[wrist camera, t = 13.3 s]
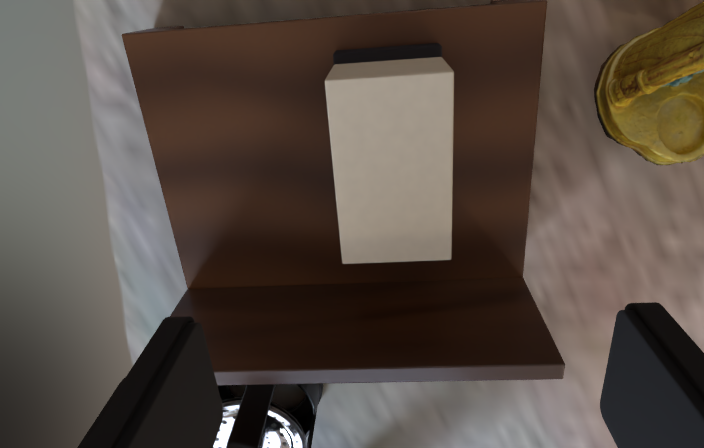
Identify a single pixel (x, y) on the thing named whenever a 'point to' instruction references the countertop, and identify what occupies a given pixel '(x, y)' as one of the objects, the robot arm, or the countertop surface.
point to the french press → (266, 418)
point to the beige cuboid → (392, 152)
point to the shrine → (657, 91)
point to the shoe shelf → (320, 200)
